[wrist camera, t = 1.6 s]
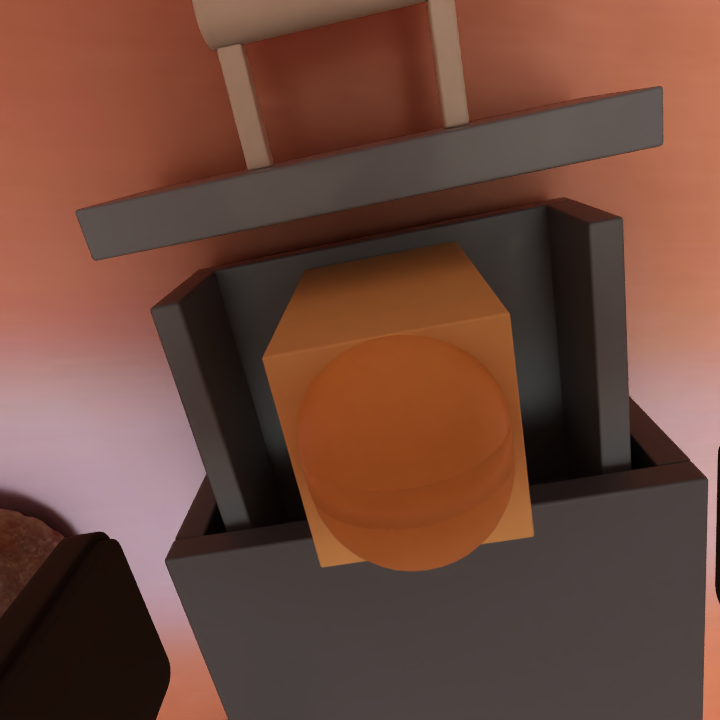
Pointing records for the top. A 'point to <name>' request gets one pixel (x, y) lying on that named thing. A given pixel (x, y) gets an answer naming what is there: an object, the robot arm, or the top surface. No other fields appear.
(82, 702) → the robot arm
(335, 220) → the top surface
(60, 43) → the top surface
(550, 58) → the top surface
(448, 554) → the orange container
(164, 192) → the drawer
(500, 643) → the cabinet
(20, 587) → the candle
